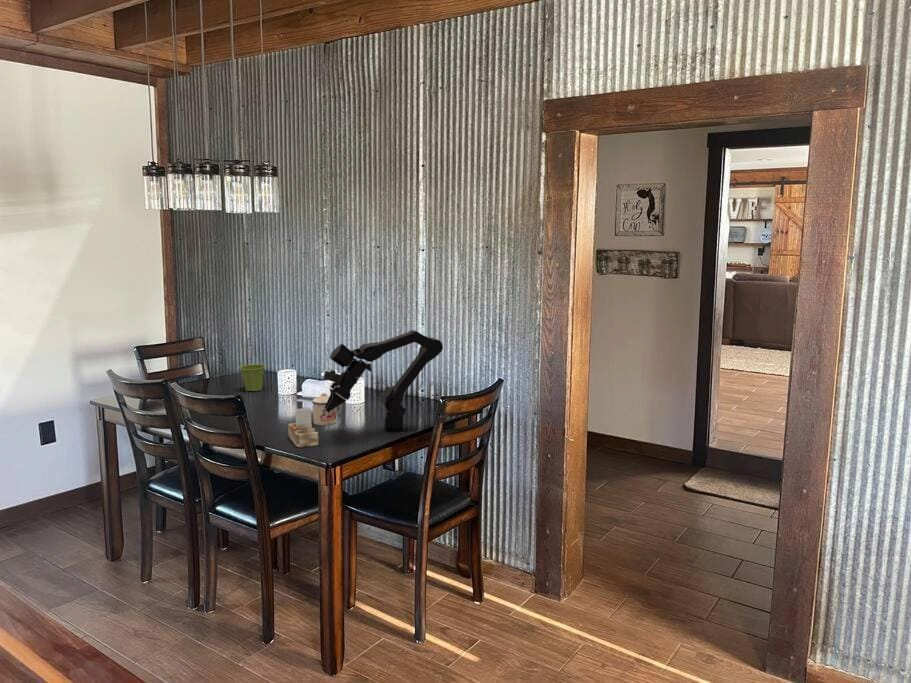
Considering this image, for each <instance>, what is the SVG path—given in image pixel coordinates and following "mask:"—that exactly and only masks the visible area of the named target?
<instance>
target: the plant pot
mask: <svg viewBox="0 0 911 683" xmlns="http://www.w3.org/2000/svg"><path fill="white" fill-rule="evenodd" d="M266 367H267V366H266V364H263V363H262V364H261V363H252V364H244V365H241V366H239V367H238V368H239V370H240V373H241V375H242V380H243V384H244V389H245V391H246V392H248V391H256V392H260V391H262V390H263V383H264V374H265V368H266ZM259 390H260V391H259Z"/></svg>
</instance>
